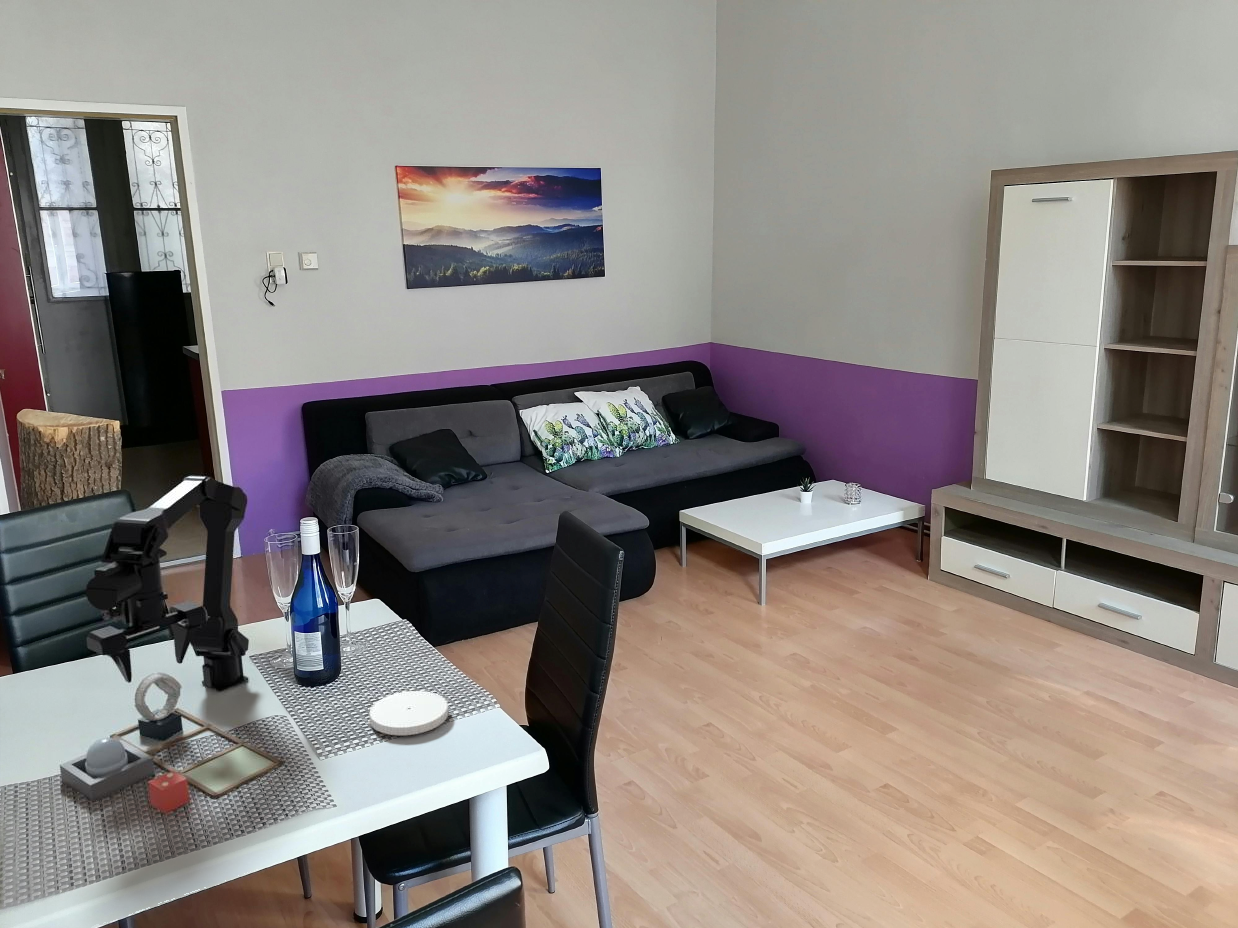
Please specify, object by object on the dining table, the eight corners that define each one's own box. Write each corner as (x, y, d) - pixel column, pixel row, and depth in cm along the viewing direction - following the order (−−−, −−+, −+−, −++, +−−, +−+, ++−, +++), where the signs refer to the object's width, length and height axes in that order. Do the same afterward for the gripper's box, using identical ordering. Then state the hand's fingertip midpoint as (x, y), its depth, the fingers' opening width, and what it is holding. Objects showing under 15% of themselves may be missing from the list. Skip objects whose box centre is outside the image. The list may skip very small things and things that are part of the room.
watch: (191, 724, 173) (184, 668, 170) (155, 746, 165) (148, 687, 163) (167, 719, 175) (161, 663, 172) (131, 740, 167) (123, 682, 165)
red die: (175, 792, 151) (172, 769, 150) (189, 801, 149) (186, 777, 148) (151, 804, 148) (148, 780, 147) (165, 813, 146) (162, 789, 145)
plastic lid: (464, 716, 176) (463, 704, 176) (406, 748, 165) (405, 735, 164) (412, 696, 184) (411, 684, 184) (353, 725, 173) (353, 712, 173)
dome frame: (123, 755, 162) (121, 739, 162) (154, 773, 157) (152, 757, 156) (62, 781, 154) (59, 764, 154) (92, 802, 149) (90, 785, 148)
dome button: (116, 757, 159) (112, 726, 158) (135, 768, 156) (131, 737, 155) (79, 773, 155) (75, 741, 153) (98, 785, 151) (93, 753, 150)
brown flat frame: (177, 709, 178) (177, 707, 178) (283, 763, 160) (283, 761, 160) (110, 737, 168) (109, 735, 168) (214, 798, 150) (214, 795, 150)
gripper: (170, 564, 176) (179, 643, 179) (65, 594, 161) (77, 679, 165) (204, 576, 169) (213, 658, 173) (98, 609, 155) (110, 697, 158)
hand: (154, 672), depth 167 cm, fingers open, 9 cm apart
